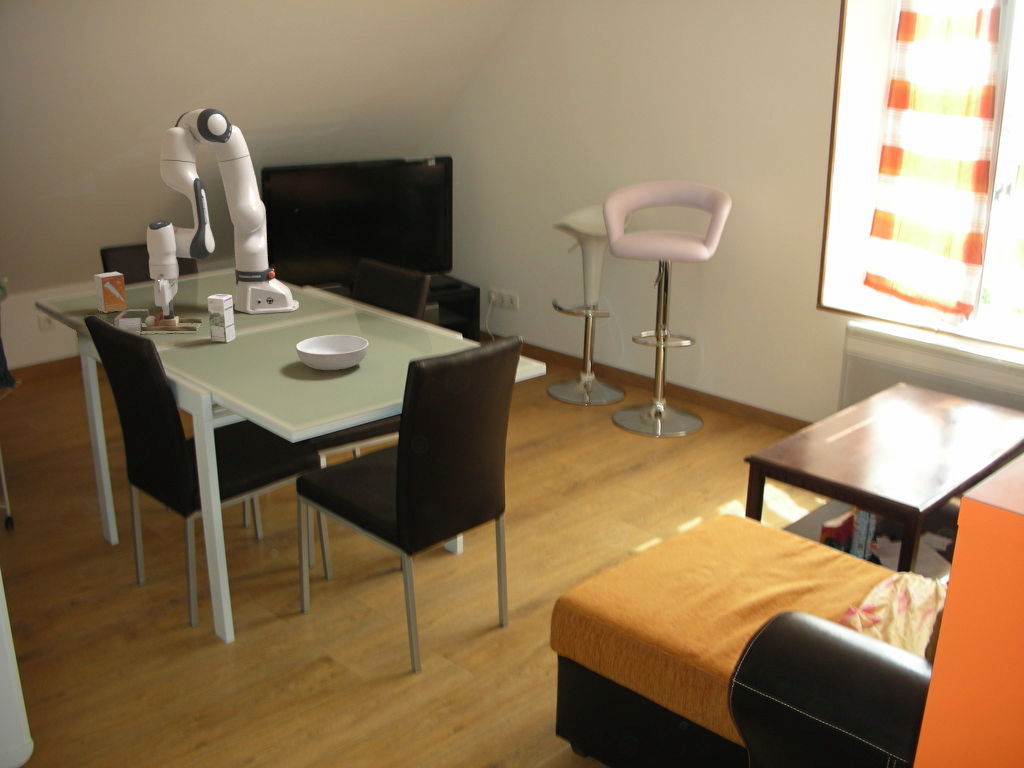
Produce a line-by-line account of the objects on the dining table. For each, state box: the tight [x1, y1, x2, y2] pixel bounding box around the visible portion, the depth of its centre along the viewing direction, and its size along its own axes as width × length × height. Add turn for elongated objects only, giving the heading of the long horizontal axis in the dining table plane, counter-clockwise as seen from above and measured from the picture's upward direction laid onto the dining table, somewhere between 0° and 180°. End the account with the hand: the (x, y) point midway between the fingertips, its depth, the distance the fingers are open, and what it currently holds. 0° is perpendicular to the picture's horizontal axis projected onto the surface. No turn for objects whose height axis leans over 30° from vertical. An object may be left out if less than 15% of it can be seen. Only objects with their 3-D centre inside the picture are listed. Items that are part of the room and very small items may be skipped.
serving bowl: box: [295, 334, 369, 371], centre depth 306 cm, size 21×21×7 cm
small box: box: [93, 271, 128, 311], centre depth 365 cm, size 8×6×13 cm
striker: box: [155, 299, 180, 327], centre depth 344 cm, size 6×8×9 cm
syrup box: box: [206, 293, 236, 344], centre depth 330 cm, size 6×6×14 cm
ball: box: [145, 315, 157, 327], centre depth 344 cm, size 4×4×4 cm
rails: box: [142, 317, 203, 332], centre depth 345 cm, size 18×11×2 cm, turn 97°
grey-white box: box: [113, 308, 150, 332], centre depth 343 cm, size 8×13×5 cm, turn 7°
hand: (168, 313), depth 344 cm, fingers open, 3 cm apart
